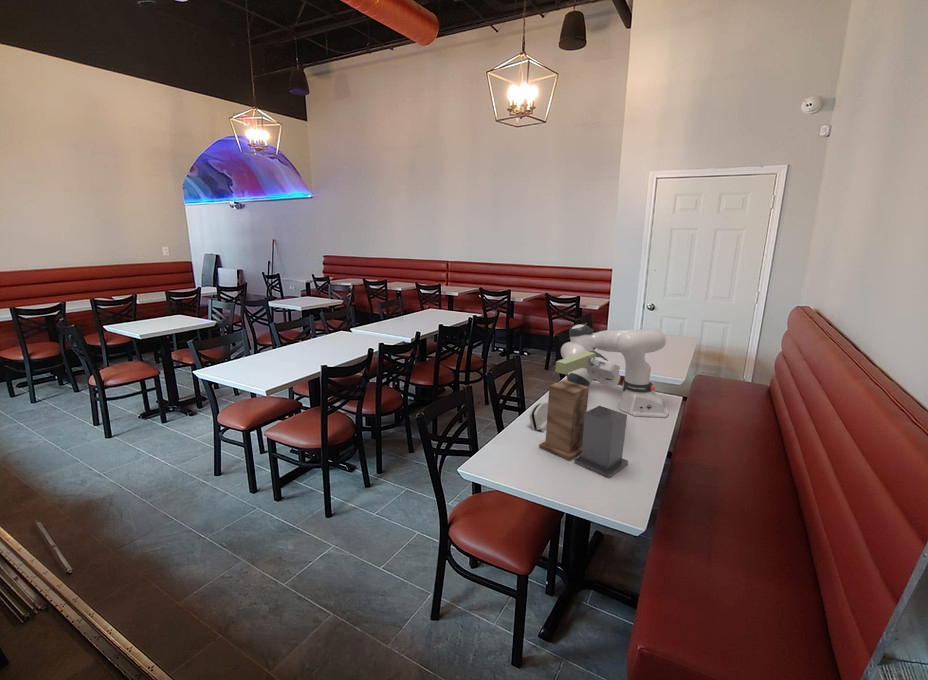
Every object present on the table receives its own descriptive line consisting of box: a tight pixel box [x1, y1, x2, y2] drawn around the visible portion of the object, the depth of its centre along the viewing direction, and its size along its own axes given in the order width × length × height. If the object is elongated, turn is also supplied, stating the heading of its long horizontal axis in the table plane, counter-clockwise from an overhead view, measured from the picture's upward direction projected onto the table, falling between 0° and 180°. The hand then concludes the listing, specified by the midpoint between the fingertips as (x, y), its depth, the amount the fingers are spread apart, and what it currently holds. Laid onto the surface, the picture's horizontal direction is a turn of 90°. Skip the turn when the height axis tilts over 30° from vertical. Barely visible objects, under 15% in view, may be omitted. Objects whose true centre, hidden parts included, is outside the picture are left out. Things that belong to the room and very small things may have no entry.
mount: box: [573, 405, 629, 479], centre depth 162 cm, size 14×14×20 cm
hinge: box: [528, 402, 548, 433], centre depth 197 cm, size 17×5×10 cm, turn 148°
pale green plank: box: [554, 351, 596, 375], centre depth 169 cm, size 21×4×4 cm, turn 134°
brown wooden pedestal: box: [538, 379, 590, 462], centre depth 173 cm, size 14×14×26 cm
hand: (584, 358), depth 173 cm, fingers closed on pale green plank, 4 cm apart
